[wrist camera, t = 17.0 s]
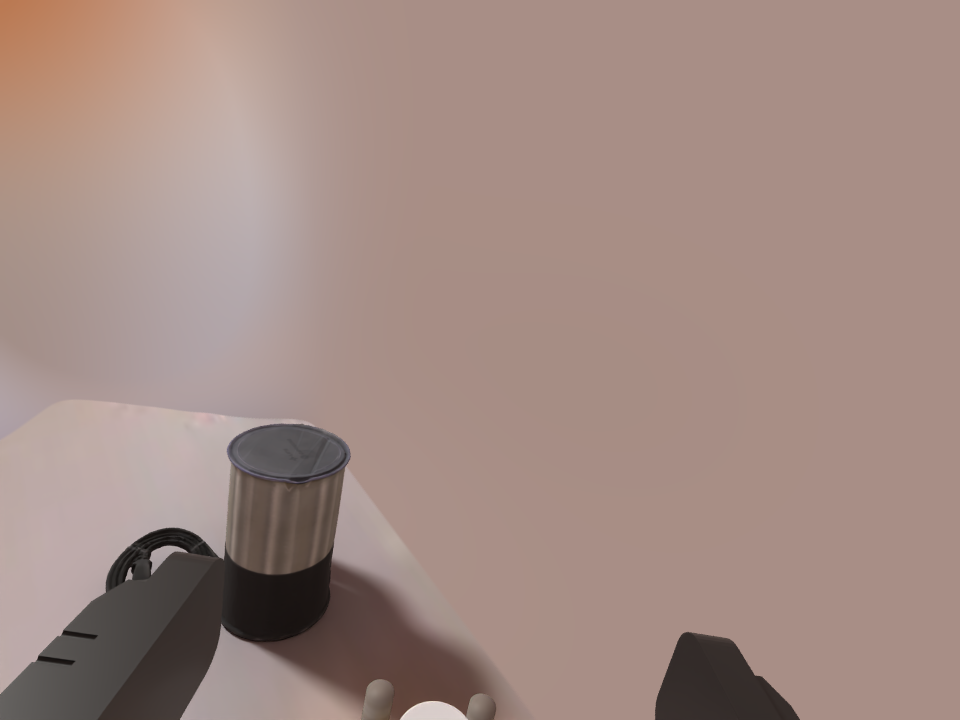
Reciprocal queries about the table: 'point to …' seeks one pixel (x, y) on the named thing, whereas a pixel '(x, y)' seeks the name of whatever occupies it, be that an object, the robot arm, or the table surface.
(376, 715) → the pin tray
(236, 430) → the table surface
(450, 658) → the table surface
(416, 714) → the supplement bottle
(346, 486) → the table surface
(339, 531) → the table surface
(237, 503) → the milk frother
